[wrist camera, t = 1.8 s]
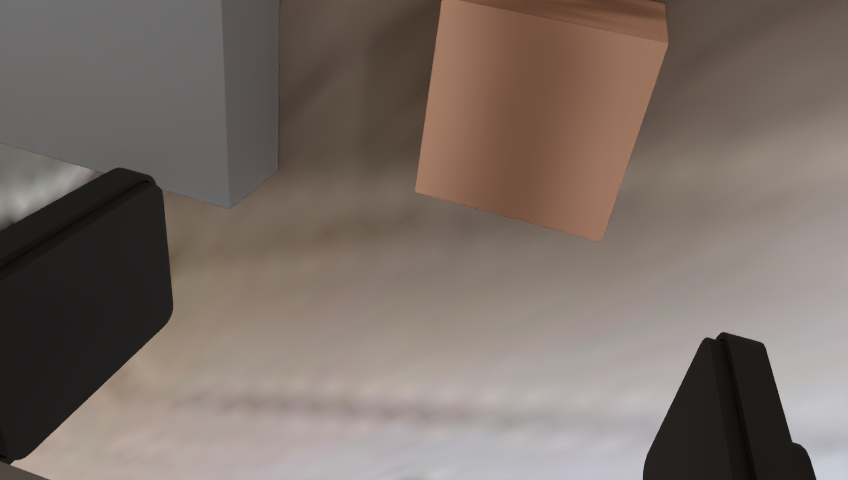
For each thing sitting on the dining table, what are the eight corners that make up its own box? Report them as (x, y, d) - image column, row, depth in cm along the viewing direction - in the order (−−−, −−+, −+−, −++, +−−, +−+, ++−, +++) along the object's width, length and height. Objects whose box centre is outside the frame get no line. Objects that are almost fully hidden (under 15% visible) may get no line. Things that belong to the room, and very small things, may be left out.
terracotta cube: (664, 3, 21) (668, 43, 16) (611, 166, 24) (601, 242, 19) (489, -31, 22) (442, -3, 17) (461, 129, 25) (414, 191, 20)
